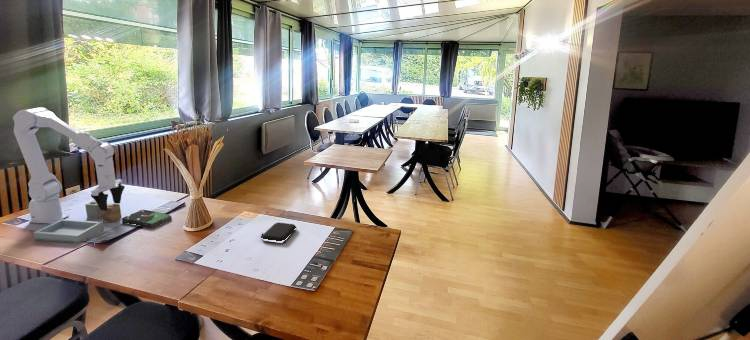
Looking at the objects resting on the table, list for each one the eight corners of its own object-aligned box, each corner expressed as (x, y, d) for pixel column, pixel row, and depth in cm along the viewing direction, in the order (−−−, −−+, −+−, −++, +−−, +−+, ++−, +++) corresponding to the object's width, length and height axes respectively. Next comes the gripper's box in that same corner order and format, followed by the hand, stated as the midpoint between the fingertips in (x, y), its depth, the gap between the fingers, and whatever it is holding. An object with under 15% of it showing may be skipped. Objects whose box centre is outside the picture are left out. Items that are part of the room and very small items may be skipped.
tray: (34, 240, 137) (33, 232, 136) (62, 226, 148) (61, 219, 148) (78, 243, 136) (77, 235, 136) (103, 229, 148) (102, 222, 147)
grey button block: (87, 218, 157) (85, 204, 155) (95, 213, 161) (93, 200, 160) (98, 218, 157) (96, 205, 155) (106, 214, 161) (104, 201, 159)
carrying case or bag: (273, 227, 159) (257, 242, 145) (273, 220, 158) (256, 235, 144) (297, 230, 158) (284, 246, 144) (297, 223, 157) (283, 238, 143)
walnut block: (102, 221, 155) (100, 207, 153) (110, 217, 159) (108, 203, 157) (113, 222, 154) (111, 208, 153) (121, 218, 159) (119, 204, 157)
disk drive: (122, 224, 154) (152, 230, 151) (121, 218, 154) (152, 223, 150) (143, 215, 164) (172, 220, 160) (142, 209, 163) (171, 213, 160)
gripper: (102, 180, 144) (107, 214, 148) (128, 169, 158) (132, 200, 162) (84, 179, 145) (89, 212, 148) (111, 168, 158) (115, 199, 162)
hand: (110, 206), depth 155 cm, fingers open, 7 cm apart
